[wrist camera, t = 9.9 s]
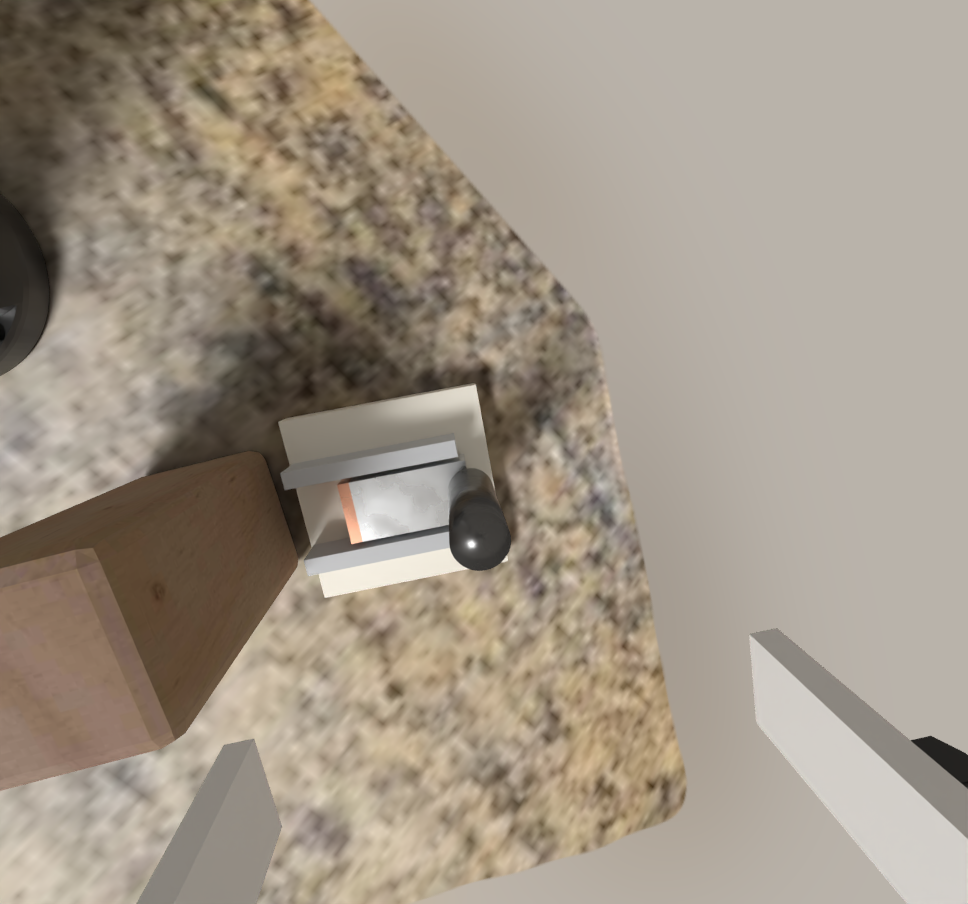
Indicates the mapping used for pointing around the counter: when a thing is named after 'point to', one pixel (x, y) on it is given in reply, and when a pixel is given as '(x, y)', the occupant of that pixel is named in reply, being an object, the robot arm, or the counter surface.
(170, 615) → the wooden block
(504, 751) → the counter surface
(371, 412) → the base
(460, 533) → the ram handle
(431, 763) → the counter surface
